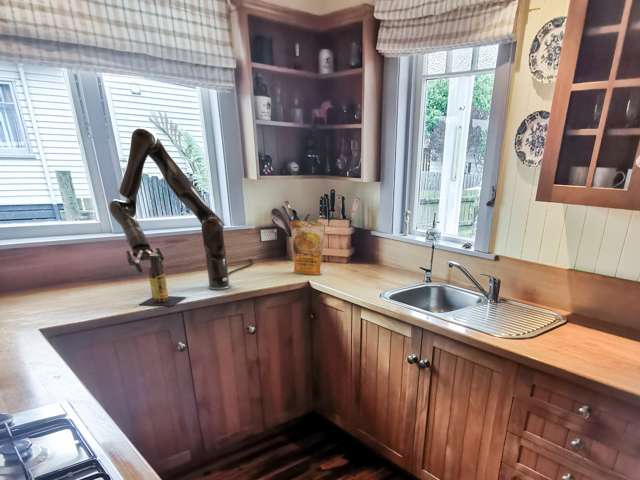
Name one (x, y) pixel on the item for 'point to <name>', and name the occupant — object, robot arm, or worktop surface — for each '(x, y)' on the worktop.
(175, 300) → the mat
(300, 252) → the pancake mix bag
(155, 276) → the sauce bottle
